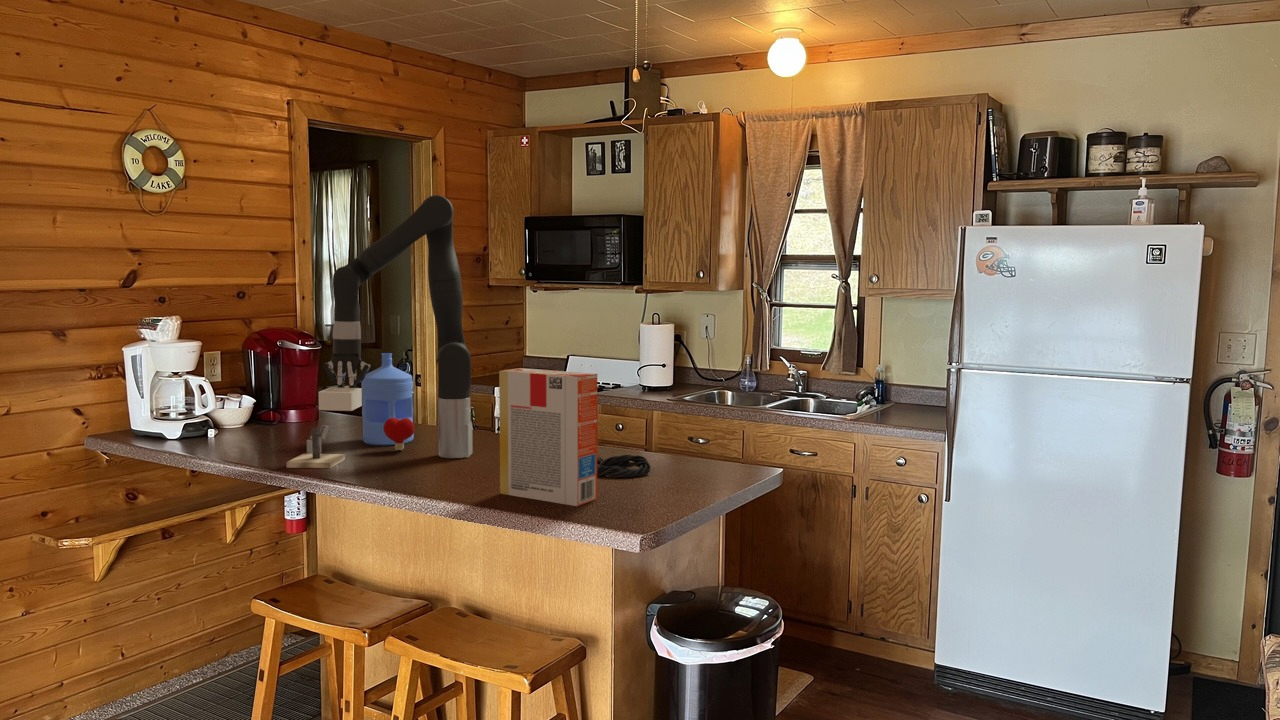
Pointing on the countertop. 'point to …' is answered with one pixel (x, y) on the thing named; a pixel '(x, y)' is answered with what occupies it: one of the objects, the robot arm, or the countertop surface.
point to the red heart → (399, 431)
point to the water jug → (385, 401)
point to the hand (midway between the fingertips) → (346, 397)
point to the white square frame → (340, 398)
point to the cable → (622, 466)
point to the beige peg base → (315, 456)
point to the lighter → (322, 437)
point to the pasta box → (548, 435)
